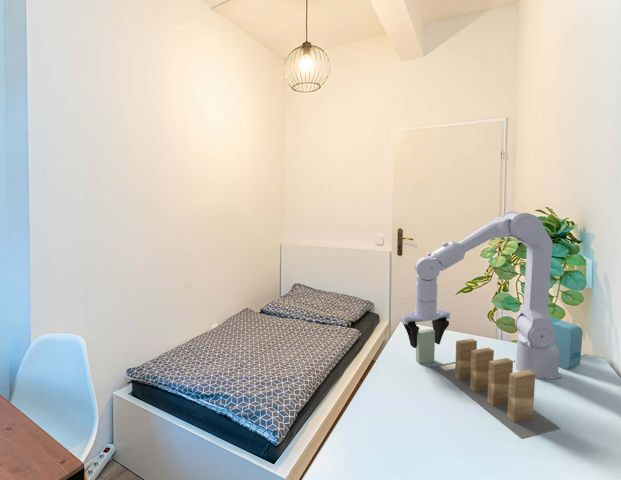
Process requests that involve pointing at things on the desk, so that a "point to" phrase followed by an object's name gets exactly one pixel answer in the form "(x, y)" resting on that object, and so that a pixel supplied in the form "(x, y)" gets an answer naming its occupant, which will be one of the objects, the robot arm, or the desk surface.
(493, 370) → the domino
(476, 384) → the domino
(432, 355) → the green domino
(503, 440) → the desk surface
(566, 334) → the light blue rounded block
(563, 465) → the desk surface
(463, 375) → the domino
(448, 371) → the board
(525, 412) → the domino
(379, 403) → the desk surface
